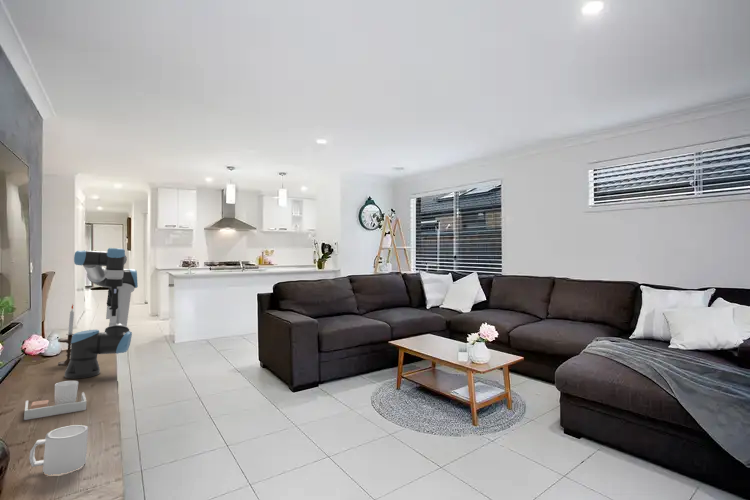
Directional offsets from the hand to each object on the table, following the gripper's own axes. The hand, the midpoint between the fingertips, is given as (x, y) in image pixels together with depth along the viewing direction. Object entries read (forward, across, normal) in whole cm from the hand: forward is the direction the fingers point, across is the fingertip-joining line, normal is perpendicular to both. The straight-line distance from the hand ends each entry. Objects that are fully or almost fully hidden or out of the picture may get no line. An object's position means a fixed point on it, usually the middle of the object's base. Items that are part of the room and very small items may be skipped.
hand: (111, 320), depth 195 cm
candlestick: (+32, -55, -13) cm, 65 cm away
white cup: (+32, +26, -17) cm, 44 cm away
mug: (+32, +84, -20) cm, 92 cm away
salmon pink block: (+32, +27, -25) cm, 49 cm away
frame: (+32, +27, -20) cm, 46 cm away
